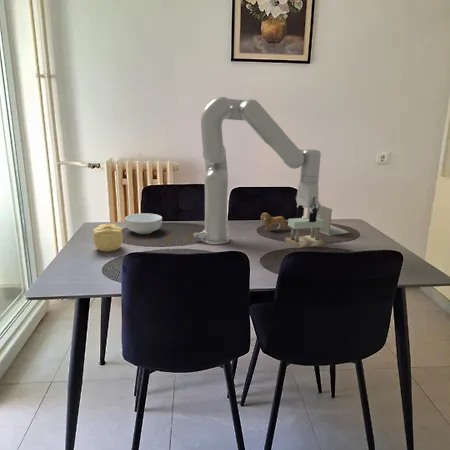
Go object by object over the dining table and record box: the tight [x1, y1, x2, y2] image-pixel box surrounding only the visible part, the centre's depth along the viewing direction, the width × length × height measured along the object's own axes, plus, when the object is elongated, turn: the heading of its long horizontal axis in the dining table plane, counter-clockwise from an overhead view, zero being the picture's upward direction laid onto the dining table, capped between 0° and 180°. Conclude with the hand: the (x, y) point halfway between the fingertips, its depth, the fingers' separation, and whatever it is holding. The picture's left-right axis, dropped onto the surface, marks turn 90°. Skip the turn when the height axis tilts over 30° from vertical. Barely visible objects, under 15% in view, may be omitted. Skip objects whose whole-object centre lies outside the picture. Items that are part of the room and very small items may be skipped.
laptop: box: [306, 205, 351, 237], centre depth 194 cm, size 18×12×13 cm
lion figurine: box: [260, 212, 288, 232], centre depth 192 cm, size 15×5×9 cm, turn 112°
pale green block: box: [287, 217, 324, 230], centre depth 171 cm, size 14×6×3 cm, turn 107°
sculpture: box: [92, 223, 124, 253], centre depth 158 cm, size 12×12×11 cm
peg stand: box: [284, 228, 326, 249], centre depth 172 cm, size 14×10×8 cm
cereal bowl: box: [124, 212, 163, 235], centre depth 184 cm, size 17×17×7 cm
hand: (306, 219), depth 171 cm, fingers open, 9 cm apart
